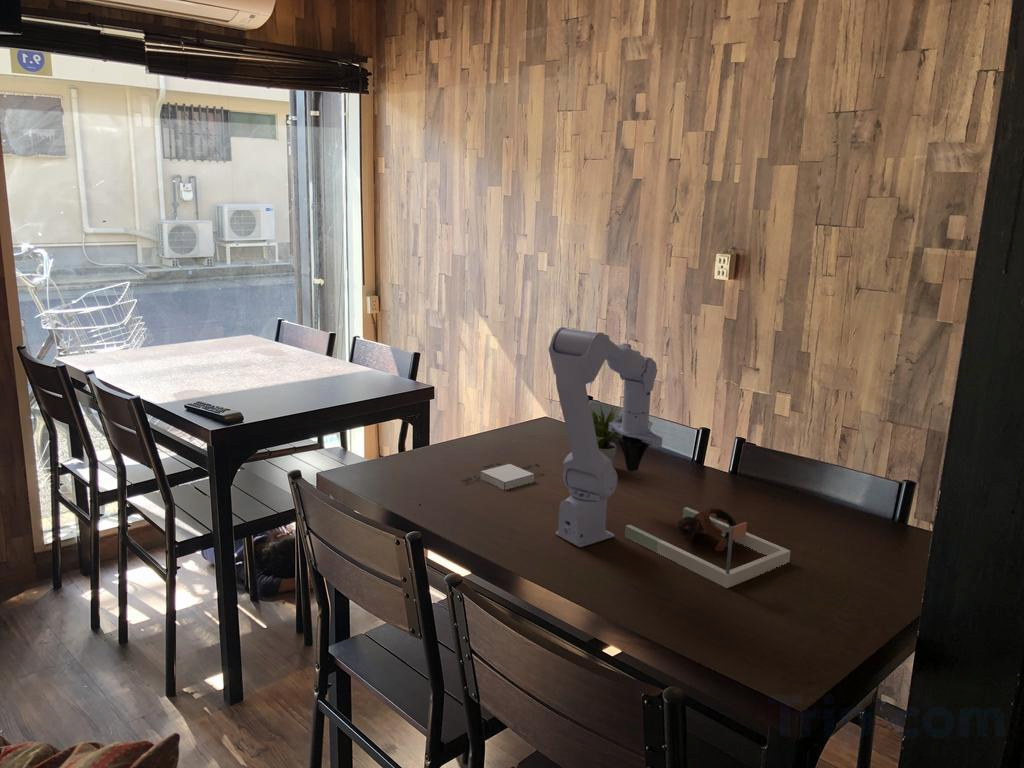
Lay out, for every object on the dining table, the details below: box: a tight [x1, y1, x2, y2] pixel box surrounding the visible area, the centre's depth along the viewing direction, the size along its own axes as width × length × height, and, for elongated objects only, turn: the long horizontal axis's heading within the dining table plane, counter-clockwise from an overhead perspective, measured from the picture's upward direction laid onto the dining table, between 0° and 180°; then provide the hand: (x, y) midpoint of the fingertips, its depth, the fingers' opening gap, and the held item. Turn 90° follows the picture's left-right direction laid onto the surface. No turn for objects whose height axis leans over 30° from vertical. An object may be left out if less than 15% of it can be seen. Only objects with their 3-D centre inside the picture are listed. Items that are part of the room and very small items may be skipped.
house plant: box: [590, 406, 623, 466], centre depth 202 cm, size 14×14×16 cm
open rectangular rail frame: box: [624, 506, 791, 589], centre depth 158 cm, size 18×26×12 cm
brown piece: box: [676, 507, 738, 552], centre depth 162 cm, size 12×10×8 cm
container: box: [460, 462, 541, 491], centre depth 196 cm, size 20×11×3 cm, turn 130°
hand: (632, 470), depth 177 cm, fingers closed
